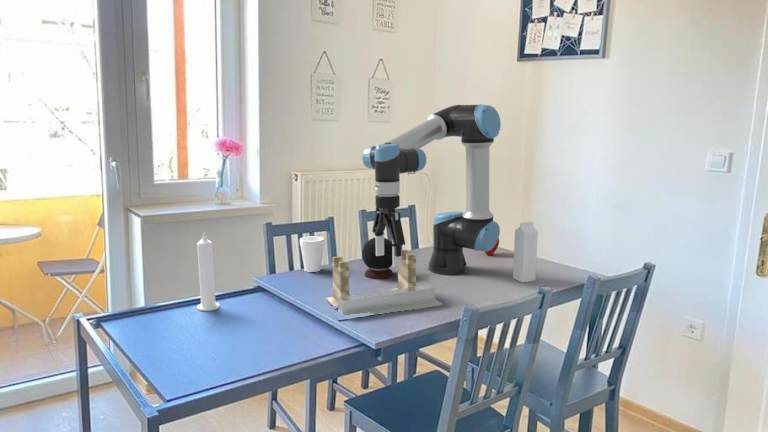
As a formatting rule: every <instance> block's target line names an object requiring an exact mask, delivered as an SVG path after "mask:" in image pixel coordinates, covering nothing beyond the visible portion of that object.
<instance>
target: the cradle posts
mask: <svg viewBox="0 0 768 432" xmlns="http://www.w3.org/2000/svg"><path fill="white" fill-rule="evenodd" d="M401 251H402V266H397V287H396V288H390V290H394V289H401V288H408V287H416V285H417V283H416V282H417V254H416V253H409V250H408V249H406V248H404V249H403V248H402V249H401ZM331 258H332V259H331V260H332V296H330V297H329V296H327V297H325V300H326V299H327V300H328V301H329V302H330V303H331V304H332V305H333V306H334V307H336V306H338V297H342V296H349V295H350V261H348V260H343V256H342V255H340V256H339V255H337V256H331Z"/></svg>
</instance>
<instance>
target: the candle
mask: <svg viewBox="0 0 768 432" xmlns="http://www.w3.org/2000/svg"><path fill="white" fill-rule="evenodd" d="M196 245H197V260H198V263H197V264H198V277H199V278H198V280H199V290H200V291H199V292H200V293H199V294H200V304H198V305H197V306H196V309H197V310H198V311H200V312H211V311H215V310H218V309H219V308H220V307H221V305H220V303H219V302H216V288H215V271H214V268H215V267H214V256H213V253H214V252H213V242H212V241H211V240H209V239H208V238H207V234H206V232H205V231H204V232H203V233H202V238H201V239H200V240H199V241H198V242H197V243H196Z"/></svg>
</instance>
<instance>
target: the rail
mask: <svg viewBox="0 0 768 432" xmlns="http://www.w3.org/2000/svg"><path fill="white" fill-rule="evenodd" d="M393 289H394V288H393ZM435 290H436V288H435V287H434V286H432V285H431V284H424V285H418V286H416V287H408V288H401V289H394V290H391V289H387V290H380V291H372V292H366V293H364V292H363V293H359V294H351V295H350V294H349V296H342V297H338V309H337V310H338V311H339V312H340V313H341V314H342V315H350V314H360V313H368V312H375V311H382V310H389V309H395V308H402V307H409V306H415V305H422V304H429V303H434V298H435V299H436V297H435V294H436V293H435V292H436V291H435Z"/></svg>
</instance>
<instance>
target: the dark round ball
mask: <svg viewBox="0 0 768 432" xmlns="http://www.w3.org/2000/svg"><path fill="white" fill-rule="evenodd" d="M392 244H393V241H391V240H390V239H388V238H386V237H384V255H381V256H376V237H372V238H370V239H368V241H366V242H365V244H364V245H363V248H362V251H361V258H362V261H363V263H364V265H365V266H367V269H366V271H364V277H365V278H366V279H367V278H368V279H371V280H387V279H390V278H393V277H394V276H395V275H394V272H393V270H392V269H391V267H393V259H392Z"/></svg>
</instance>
